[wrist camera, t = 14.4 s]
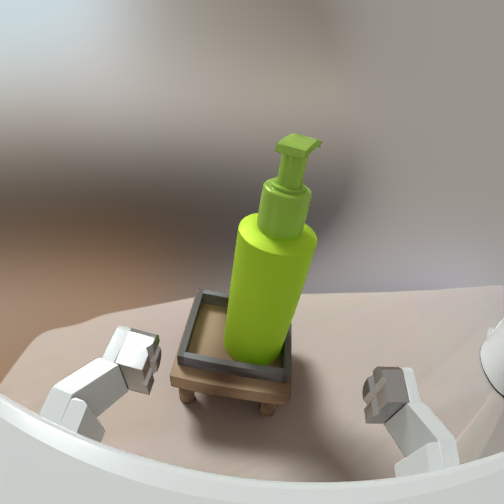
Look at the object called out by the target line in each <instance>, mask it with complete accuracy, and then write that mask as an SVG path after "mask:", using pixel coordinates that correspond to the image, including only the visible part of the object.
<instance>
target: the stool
mask: <svg viewBox="0 0 504 504" xmlns="http://www.w3.org/2000/svg"><path fill="white" fill-rule="evenodd" d="M228 302H229V294H226V293H220V292H215V291H209V290H204V289H198V290H197V293H196V296H195V299H194V302H193V305H192V308H191V311H190V314H189V317H188V320H187V323H186V326H185V329H184V332H183V335H182V338H181V342H180V345H179V348H178V351H177V354H176V357H175V361H174V364H173V367H172V370H171V374H170V381H171V386H173V387H177V388H179V395H180V399H181V401H182V402H184V403H191V402H192V401H193V400H194V398H195V397H194V391H196V392H201V393H206V394H211V395H217V396H222V397H228V398H235V399H241V400H248V401H255V402H262V403H261V405H260V408H259V412H260V413H261V414H262V415H263V416H271V415H272V414H273V412H274V410H275V408H276V406H277V404H280V405H286V403H287V402H288V400H289V398H290V396H291V324H290V327H289V330H288V333H287V335H286V338H285V341H284V344H283V347H282V349H281V352H280V354H279V356H278V357H277V358H276V359H275V360H274V361H273V362H271V363H269V364H267V365H256V364H250V363H243V362H237V361H236V360H234V359H233V358H232V357H231V356H230V355H229V354H228V353H227V351H226V349H225V346H224V333H225V325H226V317H227V309H228Z"/></svg>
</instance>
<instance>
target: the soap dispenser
mask: <svg viewBox="0 0 504 504" xmlns="http://www.w3.org/2000/svg"><path fill="white" fill-rule="evenodd" d="M321 144H322V141H320V140H317V139H314V138H310V137H306V136H302V135H299V134H290V135H288V136H287V137H285V138H283V139H282V140H281V141H279V142H278V143H277V145H276V152H278V153H282V156H281V162H280V167H279V172H278V177H276V178H273V179H269V180H267V181H266V182H265V183H264V185H263V190H262V196H261V201H260V207H259V213H255V214H252V215H249V216H247V217H245V218H244V219H243V220H242V221H241V222H240V224H239V228H238V235H237V242H236V249H235V257H234V264H233V272H232V279H231V286H230V294H229V302H228V309H227V317H226V325H225V333H224V346H225V349H226V351H227V353H228V354H229V355H230V356H231V357H232V358H233V359H234V360H236V361H237V362H243V363H250V364H256V365H267V364H269V363H271V362H273V361H274V360H275V359H276V358H277V357H278V356H279V354H280V352H281V349H282V347H283V344H284V341H285V338H286V335H287V333H288V330H289V327H290V324H291V321H292V318H293V315H294V312H295V310H296V307H297V304H298V301H299V298H300V295H301V292H302V289H303V286H304V282H305V279H306V276H307V273H308V270H309V267H310V264H311V260H312V258H313V254H314V251H315V248H316V245H317V237H316V235H315V233H314V231H313V230H312V229H311V228H310V227H309V226H307V225H306V224H305V220H306V216H307V212H308V208H309V204H310V200H311V196H312V193H311V191H310V189H309V188H308V187H306V186H305V184H303V183H302V180H303V176H304V172H305V167H306V163H307V158H308V155H309V154H310V153H311V152H312V151H313V150H314V149H316V148H317V147H320V146H321Z"/></svg>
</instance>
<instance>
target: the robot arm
mask: <svg viewBox="0 0 504 504" xmlns="http://www.w3.org/2000/svg"><path fill="white" fill-rule="evenodd" d="M159 341H160V340H159V335H156V334H152V333H148V332H144V331H140V330H136V329H133V328H129V327H126V326H122V325H120V326H119V327H118V328H117V329H116V331H115V333H114V335H113V337H112V339H111V341H110V343H109V345H108V347H107V349H106V351H105V353H104V355H103V357H102V359H100V358H97V359H96V360H94V361H93V362H91V363H89V364H88V365H86V366H85V367H83V368H81V369H80V370H78V371H77V372H75V373H73V374H72V375H70V376H69V377H67V378H65V379H64V380H62V381H61V382H59V383H57V384H56V385H54V386H53V387H52V388H51V390H50V392H49V394H48V396H47V399H46V401H45V403H44V405H43V407H42V409H41V411H40V413H39V415H38V414H36V413H34V412H32V411H30V410H29V409H27V408H25V407H23V406H21V405H20V404H18V403H16V402H14V401H13V400H11V399H9V398H8V397H6V396H4V395H3V394H1V393H0V504H504V451H503V452H500V453H497V454H494V455H491V456H488V457H485V458H482V459H478V460H475V461H472V462H468V463H464V464H461V465H460V462H459V457H458V451H457V446H456V441H455V437H454V436H453V435H452V434H451V433H450V432H449V430H448V429H447V428H446V427H445V426H444V425H443V424H442V422H441V421H440V420H439V419H438V418H437V417H436V415H435V414H434V413H433V412H432V411H431V410H430V409H429V407H428V406H427V405H426V404H425V403H424V402H421V400H420V396H419V391H418V387H417V383H416V379H415V375H414V371H413V370H412V368H400V367H376V368H375V369H374V371H373V375H372V376H370V377H368V378H367V380H366V381H365V383H364V386H363V400H364V401H365V402H366V403H367V405H366V407H365V409H364V411H365V420H366V423H374V424H384V425H385V427H386V429H387V430H388V432H389V433H390V435H391V436H392V438H393V439H394V441H395V443H396V444H397V446H398V447H399V449H400V450H401V452H402V453H403V455H404V457H405V458H404V459H402V460H401V461H399V462H397V463H396V464H395V465H394V466H395V477H394V478H386V479H376V480H365V481H350V482H287V481H271V480H260V479H250V478H242V477H234V476H227V475H221V474H215V473H209V472H204V471H199V470H194V469H189V468H184V467H180V466H176V465H171V464H167V463H164V462H160V461H156V460H152V459H149V458H145V457H142V456H139V455H135V454H132V453H129V452H126V451H123V450H120V449H117V448H114V447H111V446H109V445H106V444H103V443H101V441H102V438H103V435H104V432H105V430H104V427H103V426H102V425H101V423H100V422H99V421H98V419H97V418H96V417H98V416H99V415H100V414H101V413H103V412H104V411H105V410H106V409H107V408H109V407H110V406H111V405H112V404H113V403H115V402H116V401H117V400H118V399H119V398H121V397H122V396H123V395H124V394H125V393H127V392H128V390H131V391H135V392H139V393H143V394H147V395H149V394H150V391H151V388H152V386H153V383H154V378H153V374H154V373H155V372H157V371H158V368H159V365H160V360H161V348H160V347H159V346H158V344H159ZM480 354H481V362H482V365H483V368H484V371H485V373H486V375H487V377H488V379H489V380H490V382H491V383H492V385H493V386H494V387H495V388H496V389H497V390H498V391H499V392H500V393H501V394H502V395H503V396H504V318H503V320H502V321H501V322H500V323H499V324H498V325H497V326H496V328H494V327H490V328H489V330H488V331H487V338H486V340H485V341H484V343H483V344H482V347H481V353H480Z"/></svg>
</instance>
